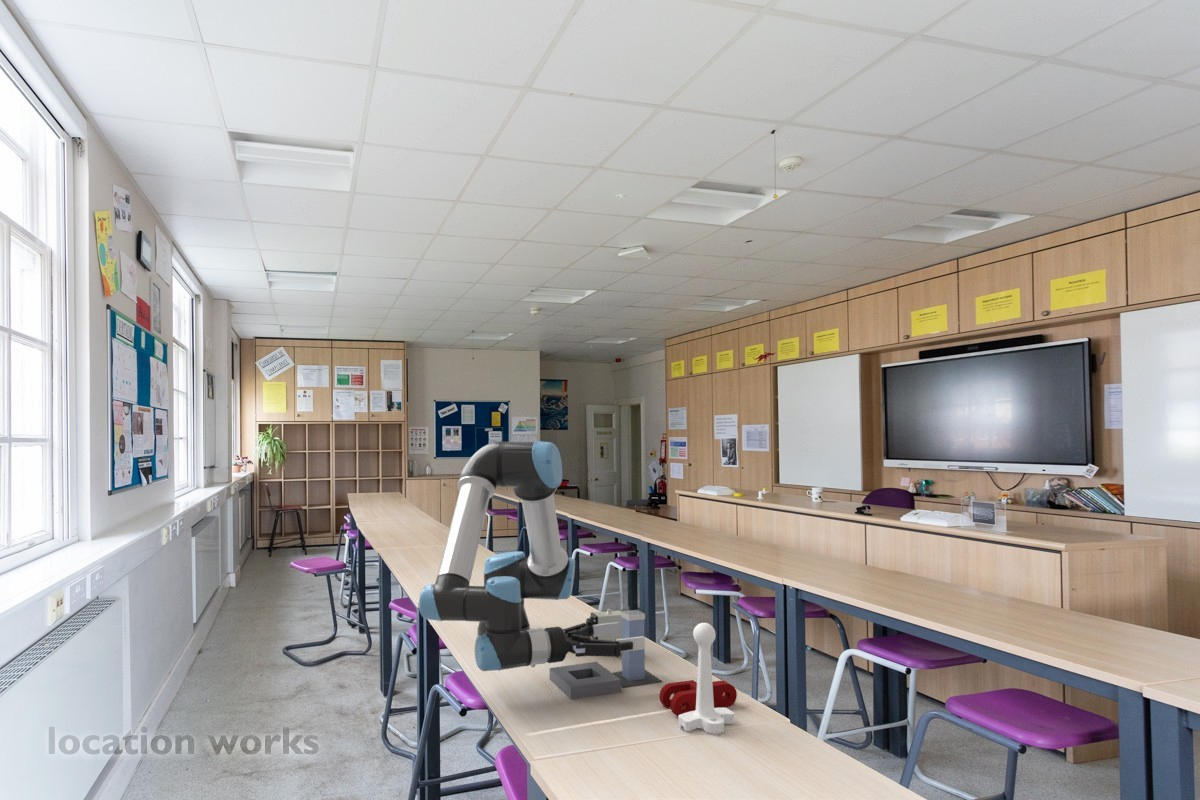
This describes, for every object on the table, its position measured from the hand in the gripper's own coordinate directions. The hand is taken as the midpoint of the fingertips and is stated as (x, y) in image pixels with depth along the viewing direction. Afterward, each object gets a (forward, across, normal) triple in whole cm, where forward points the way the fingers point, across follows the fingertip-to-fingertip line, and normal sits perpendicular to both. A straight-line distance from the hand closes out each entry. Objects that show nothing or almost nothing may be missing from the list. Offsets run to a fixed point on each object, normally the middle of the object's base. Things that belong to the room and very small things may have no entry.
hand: (630, 635), depth 168 cm
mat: (+1, -1, -11) cm, 11 cm away
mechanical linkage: (+6, +21, -11) cm, 25 cm away
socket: (-12, -1, -11) cm, 16 cm away
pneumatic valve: (+4, -21, -11) cm, 24 cm away
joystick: (+2, +30, -11) cm, 32 cm away
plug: (+1, -1, -10) cm, 10 cm away
